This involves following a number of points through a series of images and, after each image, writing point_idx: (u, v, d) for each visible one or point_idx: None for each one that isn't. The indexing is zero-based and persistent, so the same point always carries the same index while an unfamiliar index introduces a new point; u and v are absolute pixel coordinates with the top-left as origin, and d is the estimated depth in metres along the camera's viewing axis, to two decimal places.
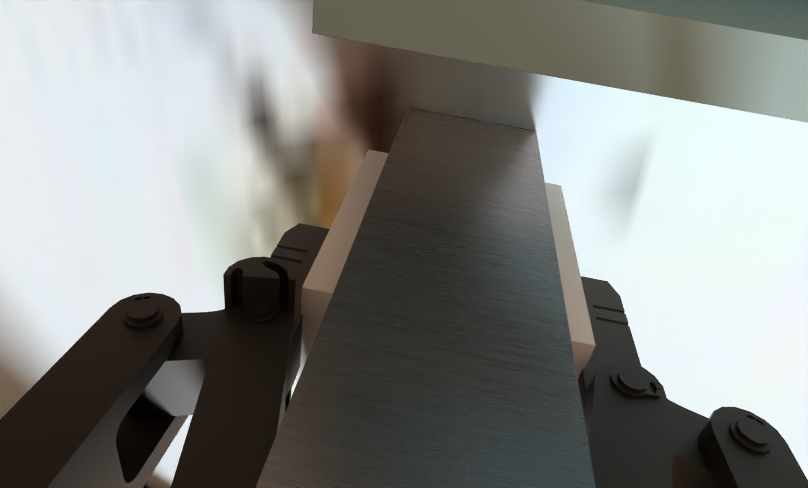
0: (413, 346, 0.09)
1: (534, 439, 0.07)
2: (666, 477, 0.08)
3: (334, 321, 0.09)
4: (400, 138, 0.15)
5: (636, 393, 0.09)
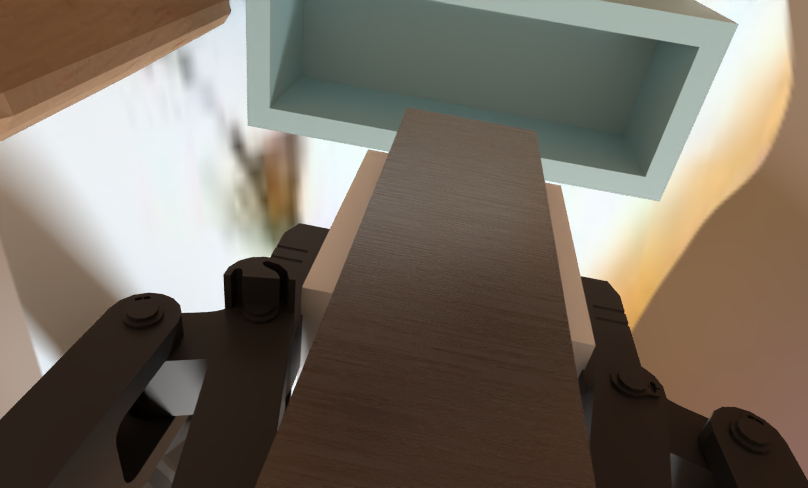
0: (413, 348, 0.08)
1: (535, 441, 0.07)
2: (666, 477, 0.08)
3: (333, 322, 0.09)
4: (400, 138, 0.15)
5: (636, 393, 0.09)
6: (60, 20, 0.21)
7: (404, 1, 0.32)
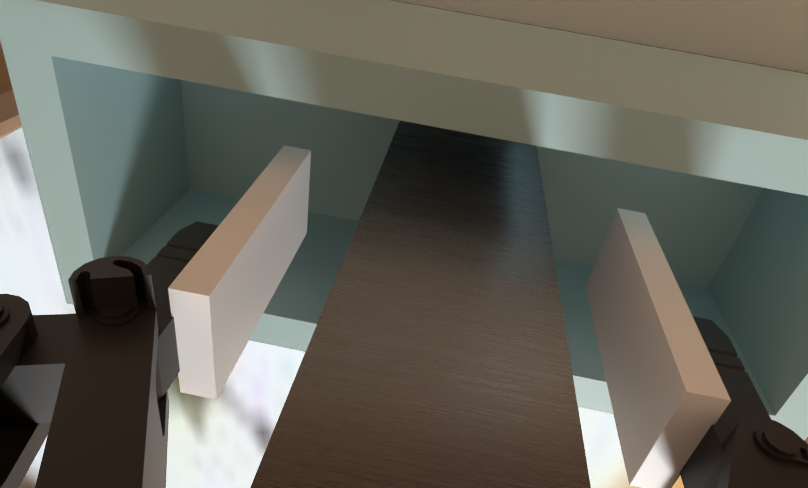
0: (420, 289, 0.10)
1: (525, 361, 0.09)
2: None
3: (351, 268, 0.10)
4: None
5: (783, 456, 0.09)
6: None
7: None
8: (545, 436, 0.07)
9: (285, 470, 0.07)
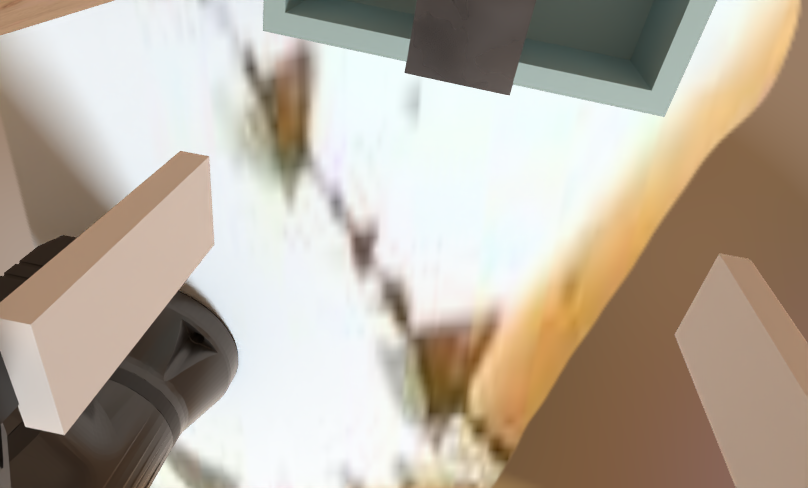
0: None
1: None
2: None
3: None
4: None
5: None
6: None
7: None
8: None
9: None
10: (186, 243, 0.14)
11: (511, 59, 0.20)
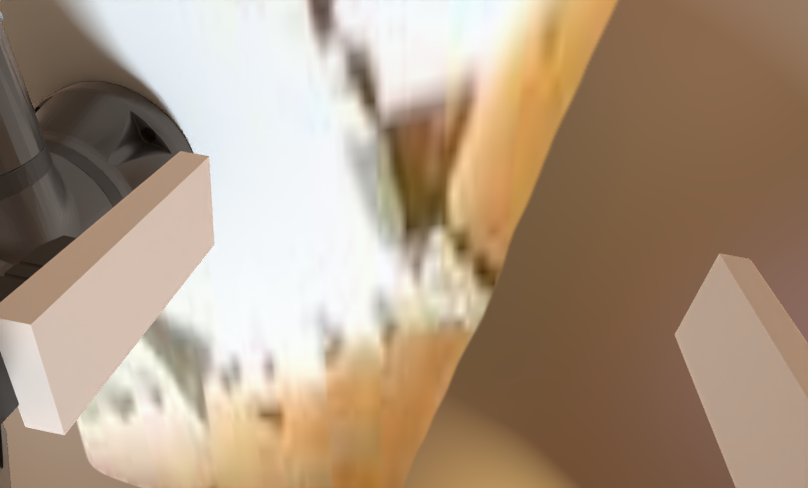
0: None
1: None
2: None
3: None
4: None
5: None
6: None
7: None
8: None
9: None
10: (186, 243, 0.14)
11: None
